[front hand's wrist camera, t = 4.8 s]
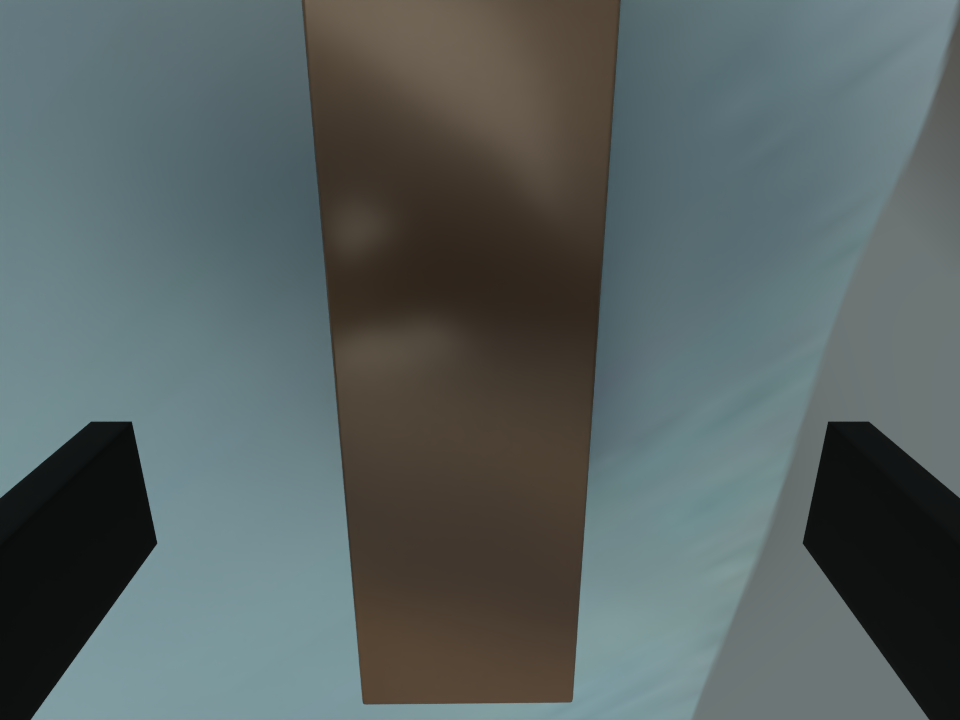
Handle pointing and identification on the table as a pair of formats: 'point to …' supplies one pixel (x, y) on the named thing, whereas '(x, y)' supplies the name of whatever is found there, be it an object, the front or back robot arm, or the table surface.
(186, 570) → the table surface
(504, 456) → the post
